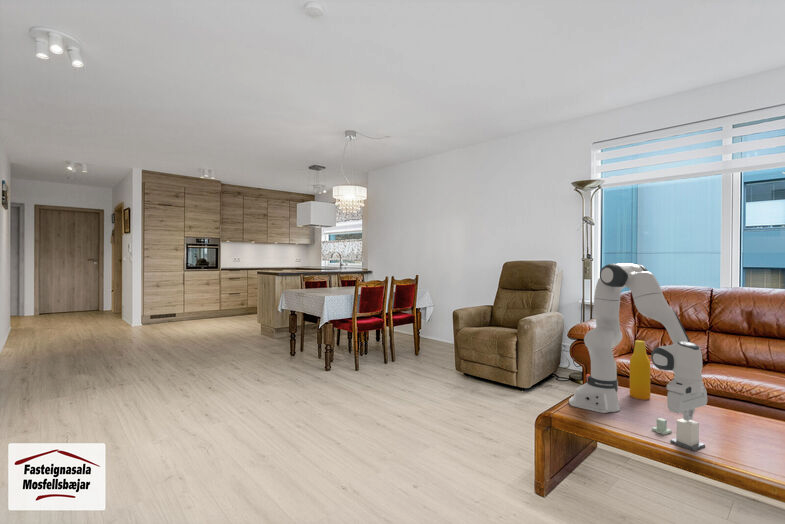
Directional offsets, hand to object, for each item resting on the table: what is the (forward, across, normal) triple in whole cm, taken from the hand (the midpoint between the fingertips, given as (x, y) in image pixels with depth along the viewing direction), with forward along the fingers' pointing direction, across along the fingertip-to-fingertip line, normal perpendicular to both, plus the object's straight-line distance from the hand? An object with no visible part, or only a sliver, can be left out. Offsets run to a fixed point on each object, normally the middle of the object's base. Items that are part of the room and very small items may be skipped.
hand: (688, 419), depth 155 cm
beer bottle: (+10, -35, -41) cm, 55 cm away
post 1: (+10, -3, -12) cm, 15 cm away
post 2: (+10, 0, 0) cm, 10 cm away
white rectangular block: (+9, 0, 0) cm, 9 cm away
